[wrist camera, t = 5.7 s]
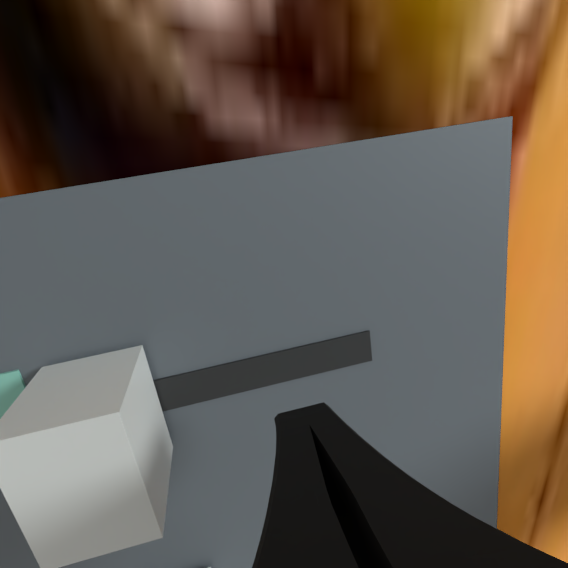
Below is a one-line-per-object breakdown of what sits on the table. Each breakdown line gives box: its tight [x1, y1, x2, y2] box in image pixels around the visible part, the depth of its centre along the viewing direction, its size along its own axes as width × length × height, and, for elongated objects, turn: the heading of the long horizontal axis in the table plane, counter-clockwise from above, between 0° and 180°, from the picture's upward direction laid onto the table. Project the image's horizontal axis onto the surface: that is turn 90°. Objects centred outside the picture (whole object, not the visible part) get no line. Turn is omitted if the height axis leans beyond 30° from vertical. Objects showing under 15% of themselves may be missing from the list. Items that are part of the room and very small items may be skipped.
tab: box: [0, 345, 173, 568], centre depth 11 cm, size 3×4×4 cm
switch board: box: [0, 116, 512, 568], centre depth 15 cm, size 20×24×1 cm
